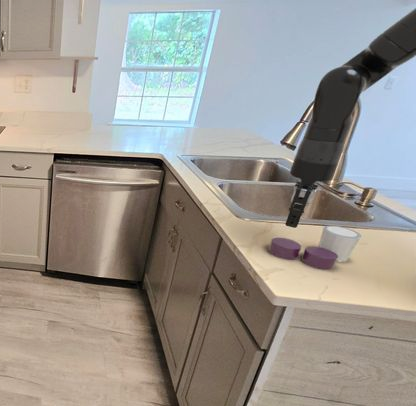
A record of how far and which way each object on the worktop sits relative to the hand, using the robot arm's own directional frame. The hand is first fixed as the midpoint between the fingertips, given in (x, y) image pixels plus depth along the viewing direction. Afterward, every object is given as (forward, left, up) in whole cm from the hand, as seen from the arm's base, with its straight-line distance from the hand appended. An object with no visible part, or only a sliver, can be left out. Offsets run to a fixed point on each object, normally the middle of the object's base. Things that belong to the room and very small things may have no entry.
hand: (293, 220), depth 90 cm
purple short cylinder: (-7, +2, -9) cm, 12 cm away
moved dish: (0, 0, -9) cm, 9 cm away
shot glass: (-11, -4, -10) cm, 15 cm away
